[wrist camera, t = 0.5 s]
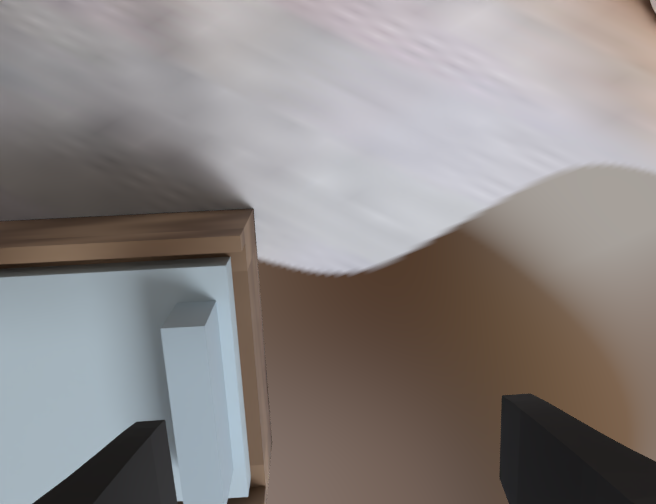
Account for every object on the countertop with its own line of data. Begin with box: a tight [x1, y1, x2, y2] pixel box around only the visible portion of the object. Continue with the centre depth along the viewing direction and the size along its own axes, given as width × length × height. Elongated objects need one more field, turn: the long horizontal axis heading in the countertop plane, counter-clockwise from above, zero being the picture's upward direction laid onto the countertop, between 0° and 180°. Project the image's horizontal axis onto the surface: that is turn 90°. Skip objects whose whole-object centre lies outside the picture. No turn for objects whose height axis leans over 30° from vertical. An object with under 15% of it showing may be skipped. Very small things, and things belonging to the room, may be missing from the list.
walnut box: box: [0, 209, 272, 504], centre depth 20 cm, size 16×10×4 cm, turn 92°
